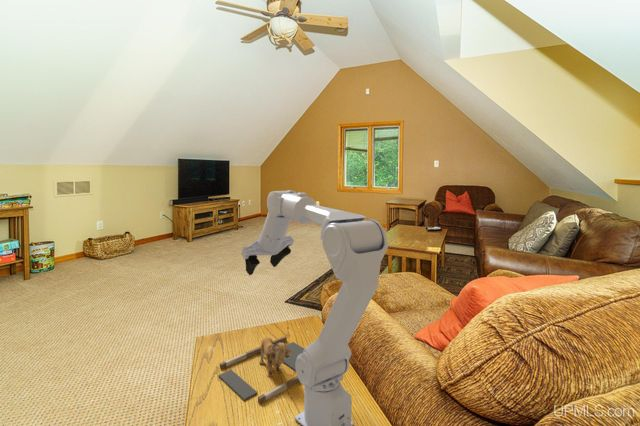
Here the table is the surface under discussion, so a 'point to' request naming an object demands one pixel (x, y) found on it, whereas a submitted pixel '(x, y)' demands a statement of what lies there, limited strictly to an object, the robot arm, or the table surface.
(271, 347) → the lion figurine
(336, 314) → the robot arm
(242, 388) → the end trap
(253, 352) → the wooden sticks
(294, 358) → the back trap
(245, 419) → the table surface
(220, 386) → the table surface
